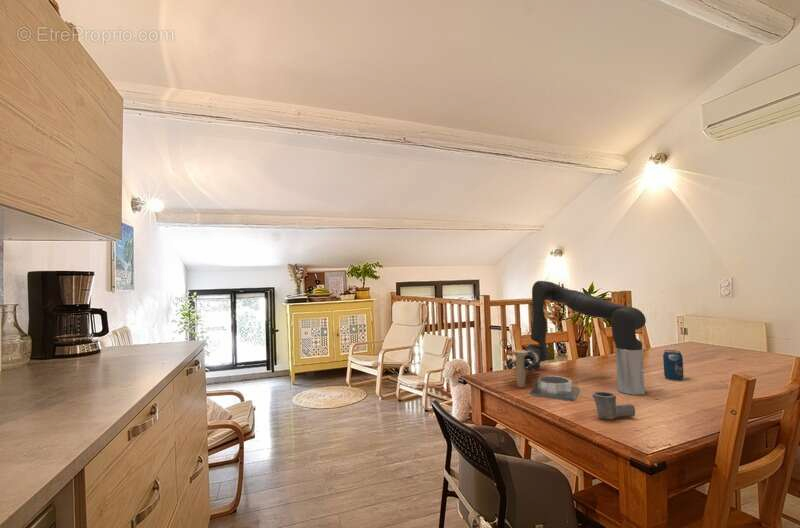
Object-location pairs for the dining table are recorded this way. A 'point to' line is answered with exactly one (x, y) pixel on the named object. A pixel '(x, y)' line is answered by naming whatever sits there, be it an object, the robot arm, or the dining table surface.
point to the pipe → (611, 406)
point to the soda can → (673, 365)
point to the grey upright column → (520, 367)
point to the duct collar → (555, 388)
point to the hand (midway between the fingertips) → (519, 367)
